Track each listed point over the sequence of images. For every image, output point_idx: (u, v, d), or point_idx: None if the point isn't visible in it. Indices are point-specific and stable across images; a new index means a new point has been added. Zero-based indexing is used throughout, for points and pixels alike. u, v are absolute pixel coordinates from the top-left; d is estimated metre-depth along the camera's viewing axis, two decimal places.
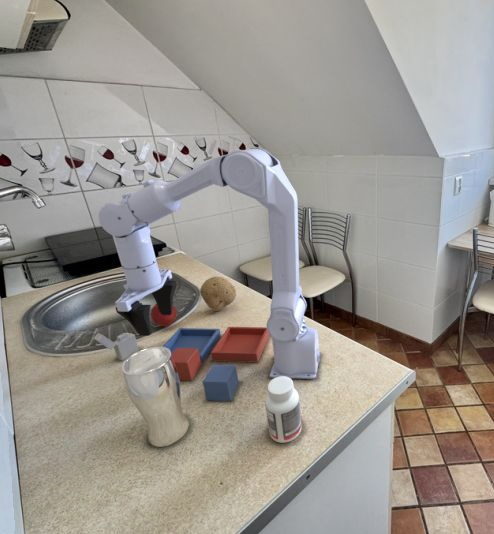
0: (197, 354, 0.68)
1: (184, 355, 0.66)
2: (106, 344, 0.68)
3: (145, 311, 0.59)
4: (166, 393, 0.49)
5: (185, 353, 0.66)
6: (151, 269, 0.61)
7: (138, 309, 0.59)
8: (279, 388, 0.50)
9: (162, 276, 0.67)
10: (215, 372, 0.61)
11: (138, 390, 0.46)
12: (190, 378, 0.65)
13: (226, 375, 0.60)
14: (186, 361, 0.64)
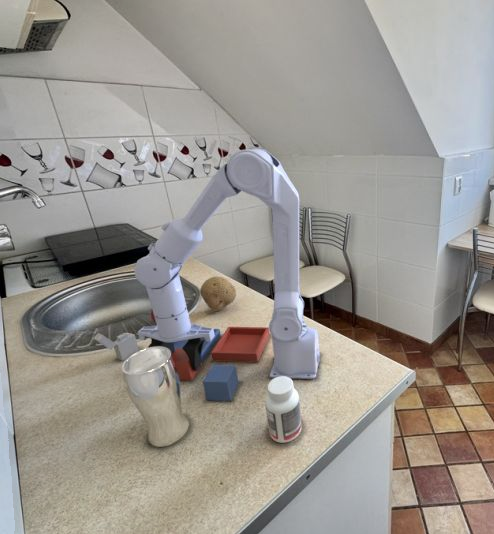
0: None
1: (184, 355, 0.66)
2: (106, 344, 0.68)
3: None
4: (166, 393, 0.49)
5: (185, 353, 0.66)
6: (159, 322, 0.60)
7: (151, 344, 0.63)
8: (279, 388, 0.50)
9: (195, 334, 0.63)
10: (215, 372, 0.61)
11: (138, 390, 0.46)
12: (190, 378, 0.65)
13: (226, 375, 0.60)
14: (186, 361, 0.64)
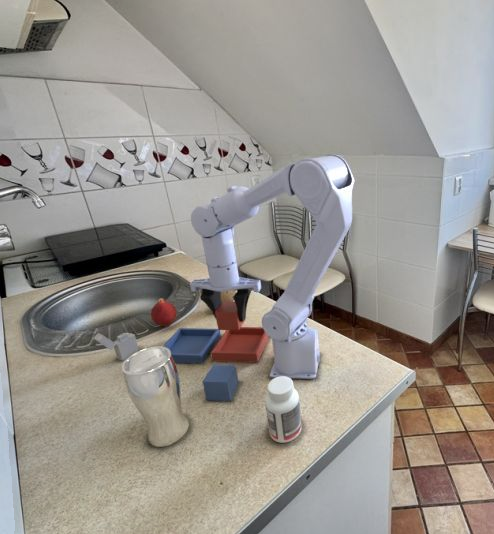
0: None
1: (232, 306, 0.70)
2: (106, 344, 0.68)
3: (204, 300, 0.67)
4: (166, 393, 0.49)
5: (232, 305, 0.70)
6: (212, 271, 0.64)
7: (202, 295, 0.67)
8: (279, 388, 0.50)
9: (244, 284, 0.67)
10: (215, 372, 0.61)
11: (138, 390, 0.46)
12: (237, 328, 0.69)
13: (226, 375, 0.60)
14: (235, 311, 0.68)
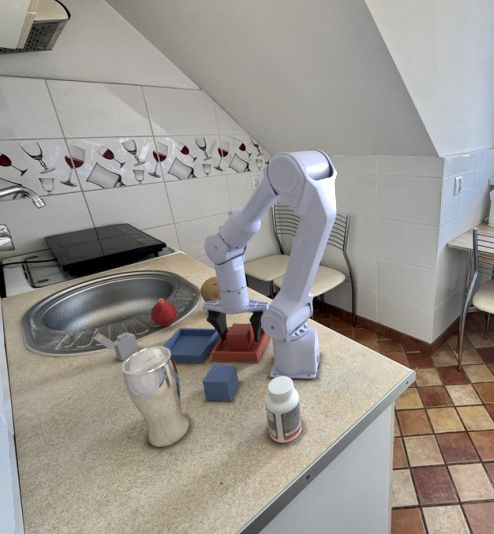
0: (252, 329, 0.75)
1: (242, 329, 0.73)
2: (106, 344, 0.68)
3: (210, 321, 0.70)
4: (166, 393, 0.49)
5: (242, 327, 0.74)
6: (224, 295, 0.67)
7: (208, 316, 0.70)
8: (279, 388, 0.50)
9: (254, 307, 0.70)
10: (215, 372, 0.61)
11: (138, 390, 0.46)
12: (247, 349, 0.73)
13: (226, 375, 0.60)
14: (245, 334, 0.71)
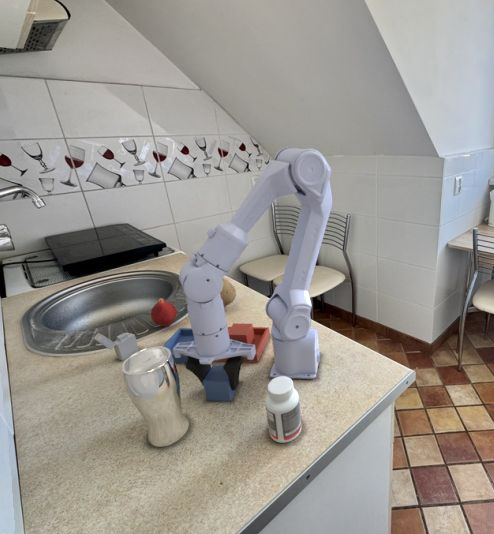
0: (252, 329, 0.75)
1: (242, 329, 0.73)
2: (106, 344, 0.68)
3: None
4: (166, 393, 0.49)
5: (242, 327, 0.74)
6: None
7: None
8: (279, 388, 0.50)
9: (193, 345, 0.59)
10: (215, 372, 0.61)
11: (138, 390, 0.46)
12: None
13: (227, 375, 0.60)
14: (245, 334, 0.71)
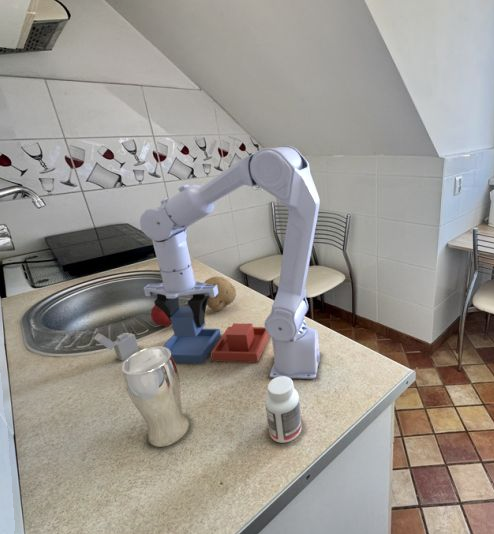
0: (252, 329, 0.75)
1: (242, 329, 0.73)
2: (106, 344, 0.68)
3: None
4: (166, 393, 0.49)
5: (242, 327, 0.74)
6: None
7: None
8: (279, 388, 0.50)
9: (162, 285, 0.67)
10: (182, 311, 0.68)
11: (138, 390, 0.46)
12: (247, 349, 0.73)
13: (192, 313, 0.67)
14: (245, 334, 0.71)
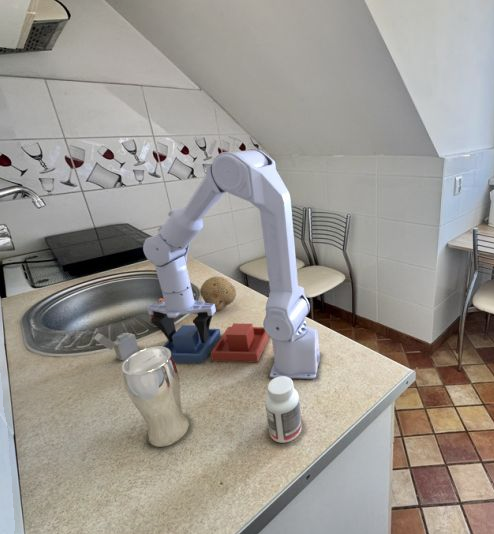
0: (252, 329, 0.75)
1: (242, 329, 0.73)
2: (106, 344, 0.68)
3: None
4: (166, 393, 0.49)
5: (242, 327, 0.74)
6: None
7: None
8: (279, 388, 0.50)
9: (164, 304, 0.72)
10: (183, 330, 0.73)
11: (138, 390, 0.46)
12: (247, 349, 0.73)
13: (192, 332, 0.72)
14: (245, 334, 0.71)
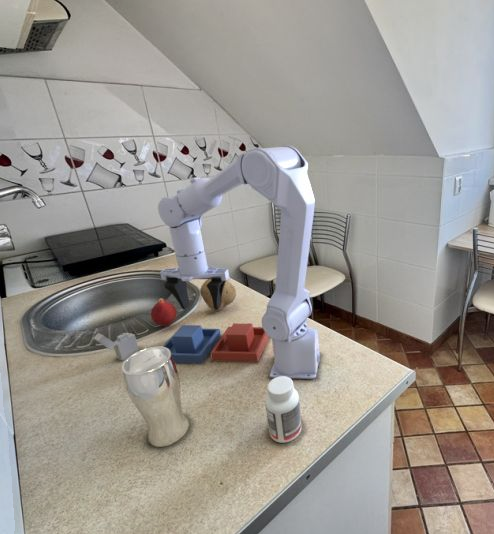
0: (252, 329, 0.75)
1: (242, 329, 0.73)
2: (106, 344, 0.68)
3: None
4: (166, 393, 0.49)
5: (242, 327, 0.74)
6: None
7: None
8: (279, 388, 0.50)
9: None
10: (183, 330, 0.73)
11: (138, 390, 0.46)
12: (247, 349, 0.73)
13: (192, 332, 0.72)
14: (245, 334, 0.71)
